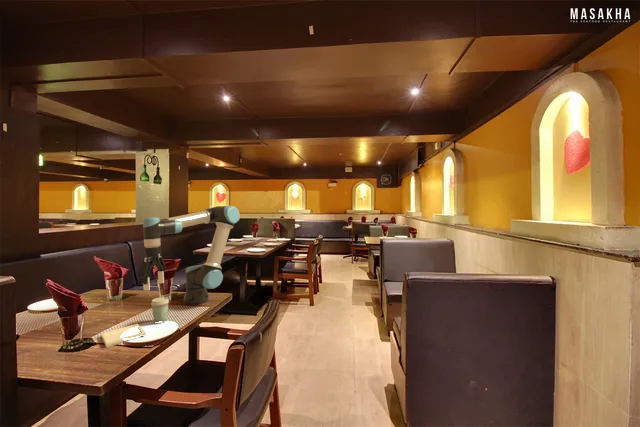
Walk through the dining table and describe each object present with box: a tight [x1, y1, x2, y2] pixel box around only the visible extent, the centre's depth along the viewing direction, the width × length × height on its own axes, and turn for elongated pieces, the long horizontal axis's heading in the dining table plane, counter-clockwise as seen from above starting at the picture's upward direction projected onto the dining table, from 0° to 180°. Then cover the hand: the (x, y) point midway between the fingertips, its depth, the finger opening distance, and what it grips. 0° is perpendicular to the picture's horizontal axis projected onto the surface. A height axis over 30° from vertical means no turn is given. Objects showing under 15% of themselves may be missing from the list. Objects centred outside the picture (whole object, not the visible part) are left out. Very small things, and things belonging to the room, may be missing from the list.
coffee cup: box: [150, 296, 170, 323], centre depth 153 cm, size 8×9×12 cm
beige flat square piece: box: [100, 323, 146, 348], centre depth 135 cm, size 15×15×2 cm
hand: (154, 286), depth 152 cm, fingers open, 13 cm apart
